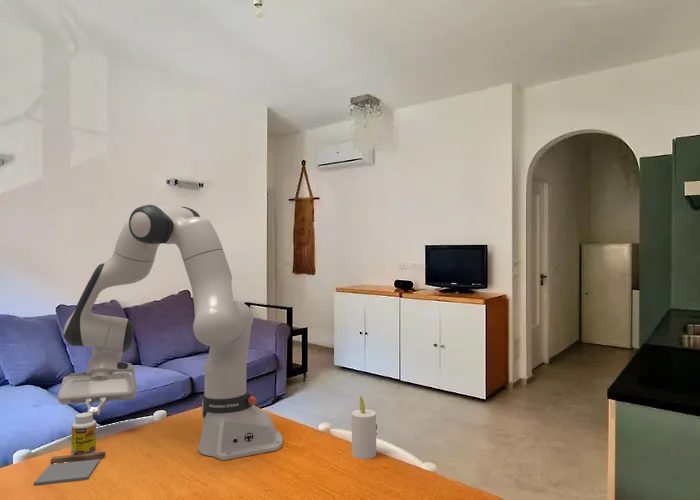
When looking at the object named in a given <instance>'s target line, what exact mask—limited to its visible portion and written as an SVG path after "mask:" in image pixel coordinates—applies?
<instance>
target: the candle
mask: <svg viewBox="0 0 700 500" xmlns="http://www.w3.org/2000/svg"><path fill="white" fill-rule="evenodd" d="M365 406H366V405H365V402H364V399H363V396H361V395H360V396H359V409H355V410H353V411H352V412H351V455H352V457H353V458H355V459H359V460H370V459H372V458H375V457H376V456H377V435H378V432H377V431H378V430H377V429H378V424H377V412H376V411H375V410H372V409H366V407H365Z"/></svg>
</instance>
